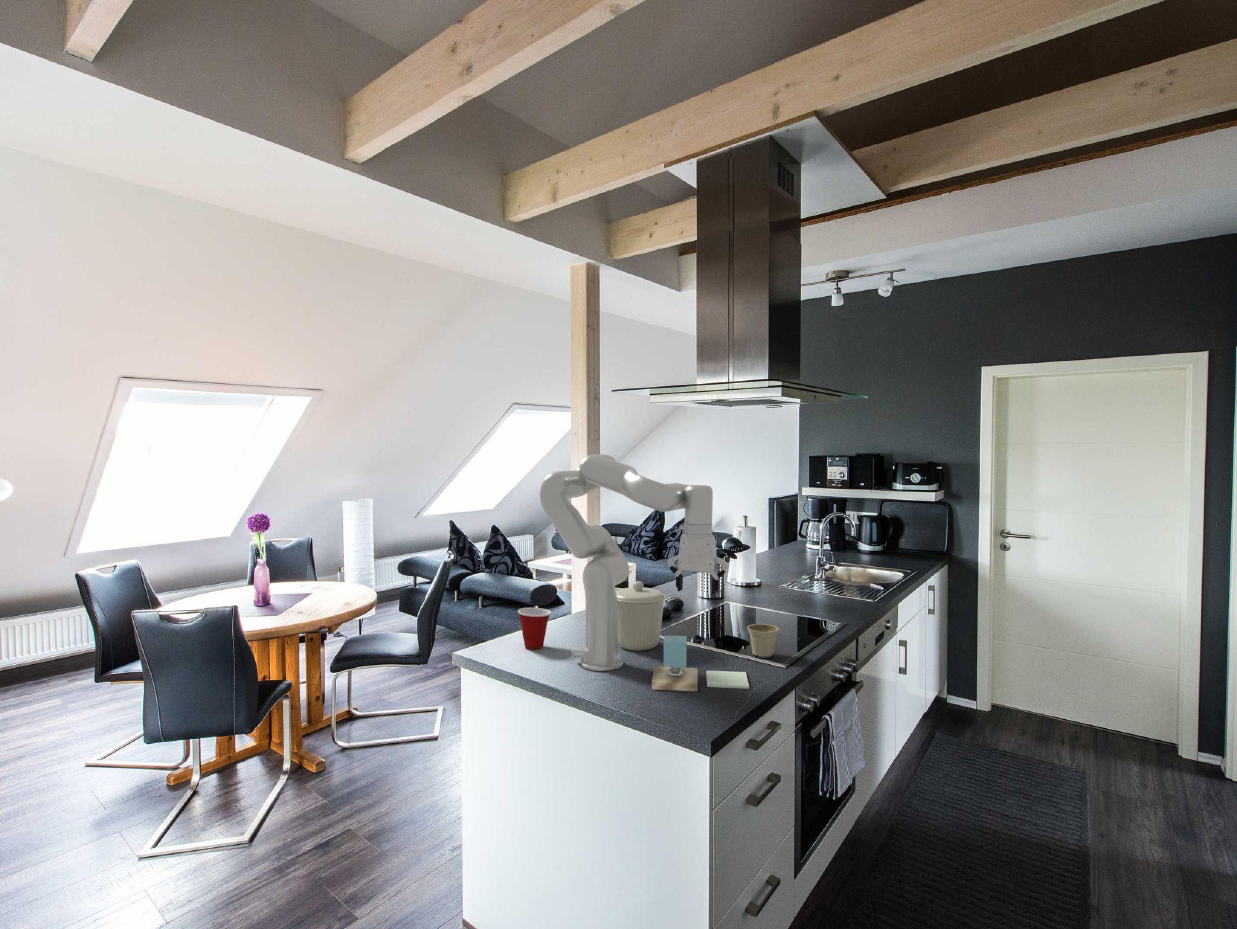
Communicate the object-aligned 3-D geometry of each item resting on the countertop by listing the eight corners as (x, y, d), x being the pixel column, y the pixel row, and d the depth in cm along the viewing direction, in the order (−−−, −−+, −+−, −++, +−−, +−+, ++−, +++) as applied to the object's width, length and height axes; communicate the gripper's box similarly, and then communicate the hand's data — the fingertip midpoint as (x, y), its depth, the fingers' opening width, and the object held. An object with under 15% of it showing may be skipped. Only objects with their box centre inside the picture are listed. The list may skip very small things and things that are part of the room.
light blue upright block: (663, 667, 167) (663, 641, 167) (664, 659, 173) (664, 635, 173) (686, 667, 166) (686, 642, 166) (686, 660, 172) (686, 636, 172)
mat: (707, 686, 166) (707, 684, 166) (706, 672, 177) (706, 670, 177) (749, 688, 165) (749, 686, 165) (745, 674, 176) (745, 672, 176)
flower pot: (741, 652, 195) (741, 625, 195) (766, 649, 198) (767, 622, 198) (758, 662, 186) (758, 633, 186) (784, 658, 190) (784, 630, 190)
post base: (651, 689, 165) (651, 681, 165) (654, 673, 176) (654, 666, 176) (697, 691, 163) (697, 683, 163) (697, 675, 175) (697, 668, 175)
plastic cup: (555, 650, 198) (555, 612, 198) (521, 654, 194) (521, 615, 194) (546, 640, 208) (546, 604, 208) (514, 644, 204) (514, 607, 204)
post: (667, 677, 168) (667, 643, 168) (668, 672, 172) (668, 639, 172) (682, 677, 168) (682, 644, 167) (682, 672, 172) (682, 639, 171)
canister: (666, 638, 210) (666, 576, 210) (665, 655, 192) (665, 587, 192) (613, 637, 212) (613, 575, 212) (607, 654, 194) (607, 586, 194)
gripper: (664, 529, 171) (663, 591, 171) (727, 533, 165) (725, 597, 165) (671, 526, 178) (670, 586, 178) (732, 530, 172) (730, 592, 173)
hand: (697, 591), depth 172 cm, fingers open, 9 cm apart
